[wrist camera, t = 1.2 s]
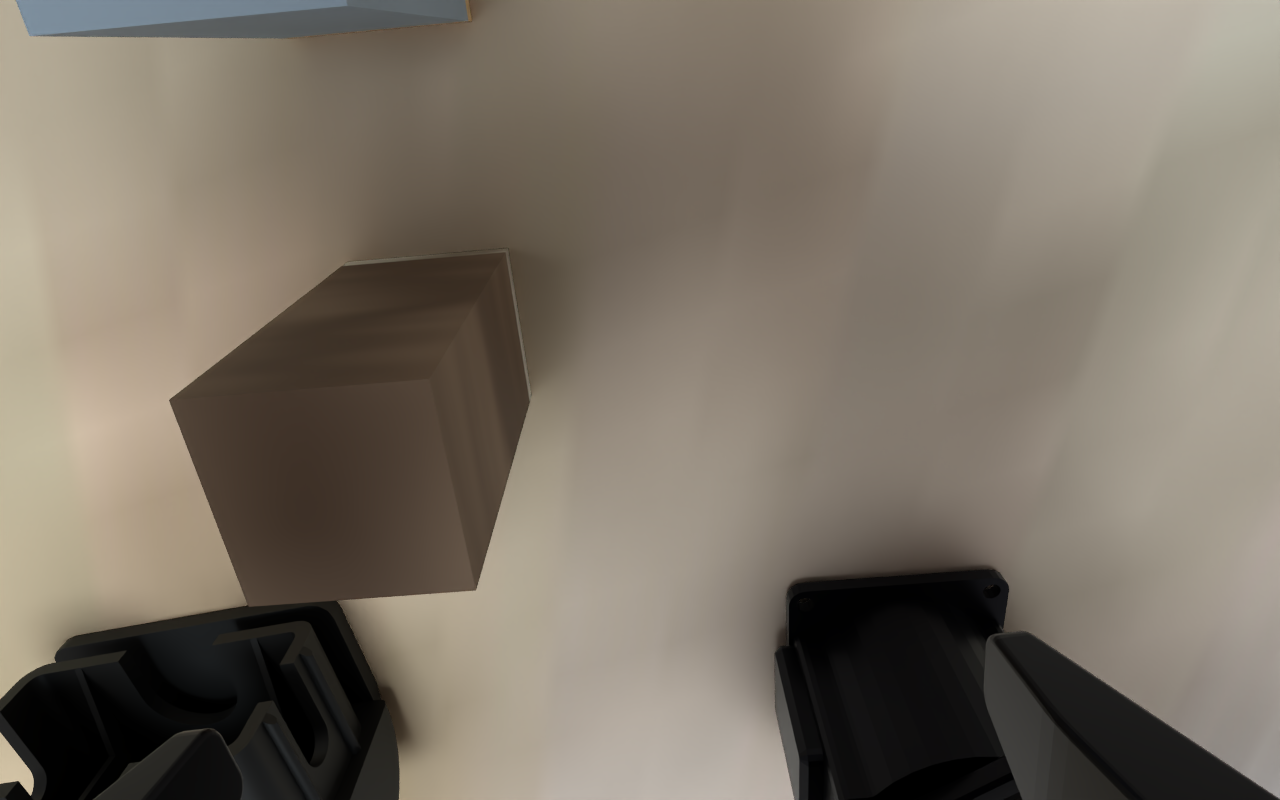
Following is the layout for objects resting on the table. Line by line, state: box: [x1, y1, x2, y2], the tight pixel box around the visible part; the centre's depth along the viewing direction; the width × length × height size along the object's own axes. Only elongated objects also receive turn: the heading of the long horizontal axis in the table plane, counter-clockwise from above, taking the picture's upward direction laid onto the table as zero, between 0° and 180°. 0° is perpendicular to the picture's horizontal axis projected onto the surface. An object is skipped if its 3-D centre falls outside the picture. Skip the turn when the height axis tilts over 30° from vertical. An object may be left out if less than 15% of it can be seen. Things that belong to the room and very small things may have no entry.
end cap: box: [0, 601, 399, 800], centre depth 22 cm, size 10×7×7 cm
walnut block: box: [169, 248, 532, 607], centre depth 16 cm, size 4×4×8 cm
